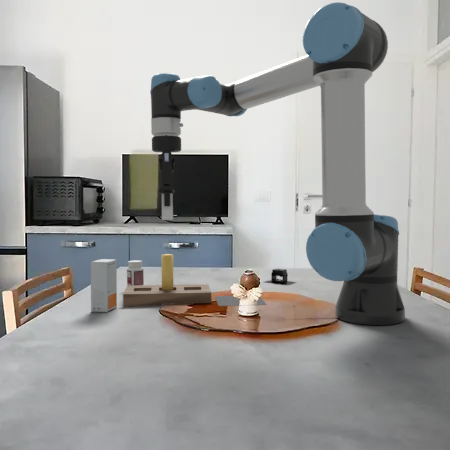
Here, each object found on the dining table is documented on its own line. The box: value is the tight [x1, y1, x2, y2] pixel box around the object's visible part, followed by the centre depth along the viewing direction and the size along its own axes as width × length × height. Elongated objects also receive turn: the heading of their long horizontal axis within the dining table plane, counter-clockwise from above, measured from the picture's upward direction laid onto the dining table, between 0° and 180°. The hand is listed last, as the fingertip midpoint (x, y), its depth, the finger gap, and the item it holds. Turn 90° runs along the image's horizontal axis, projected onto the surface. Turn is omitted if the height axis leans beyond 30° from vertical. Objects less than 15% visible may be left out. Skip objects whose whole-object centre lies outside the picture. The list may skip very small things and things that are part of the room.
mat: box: [214, 295, 267, 307], centre depth 137 cm, size 12×12×1 cm
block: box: [122, 283, 212, 307], centre depth 139 cm, size 12×22×3 cm, turn 96°
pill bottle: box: [126, 259, 145, 287], centre depth 154 cm, size 5×5×8 cm
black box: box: [264, 268, 297, 286], centre depth 166 cm, size 12×7×5 cm, turn 57°
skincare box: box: [90, 258, 118, 313], centre depth 128 cm, size 6×4×12 cm
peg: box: [161, 253, 174, 291], centre depth 138 cm, size 3×3×12 cm
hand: (167, 218), depth 137 cm, fingers open, 13 cm apart
